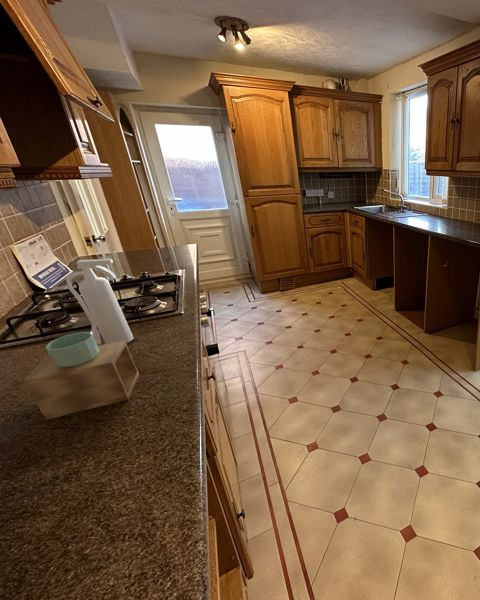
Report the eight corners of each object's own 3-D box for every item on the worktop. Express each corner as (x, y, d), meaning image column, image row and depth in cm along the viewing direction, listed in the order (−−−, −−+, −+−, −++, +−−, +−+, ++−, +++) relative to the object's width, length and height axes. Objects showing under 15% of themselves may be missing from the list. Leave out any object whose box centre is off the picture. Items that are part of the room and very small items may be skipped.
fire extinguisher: (93, 342, 95) (55, 261, 85) (143, 332, 100) (113, 254, 90) (85, 353, 89) (44, 268, 79) (138, 342, 95) (106, 260, 84)
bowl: (49, 372, 65) (38, 353, 63) (64, 354, 71) (55, 336, 69) (94, 363, 68) (85, 344, 66) (105, 346, 74) (97, 329, 72)
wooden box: (46, 419, 67) (22, 381, 63) (66, 391, 75) (46, 355, 71) (128, 399, 72) (112, 362, 68) (139, 374, 80) (125, 340, 76)
